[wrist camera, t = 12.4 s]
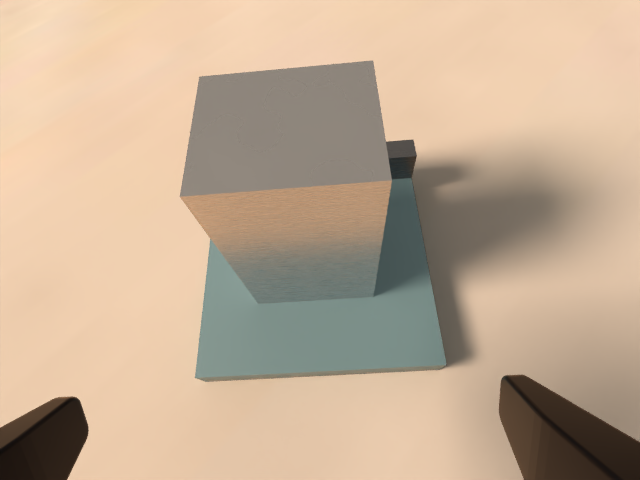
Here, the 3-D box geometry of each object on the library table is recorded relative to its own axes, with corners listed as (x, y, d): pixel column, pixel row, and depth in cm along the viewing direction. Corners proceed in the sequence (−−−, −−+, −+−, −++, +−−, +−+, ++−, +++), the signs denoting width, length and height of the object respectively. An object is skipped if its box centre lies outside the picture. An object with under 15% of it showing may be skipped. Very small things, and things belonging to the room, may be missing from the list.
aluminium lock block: (373, 296, 19) (391, 180, 10) (258, 304, 19) (179, 196, 11) (363, 209, 22) (372, 54, 13) (261, 217, 22) (200, 71, 13)
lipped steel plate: (439, 369, 19) (457, 357, 16) (206, 381, 19) (177, 372, 16) (405, 177, 24) (413, 139, 21) (224, 191, 25) (206, 156, 22)
